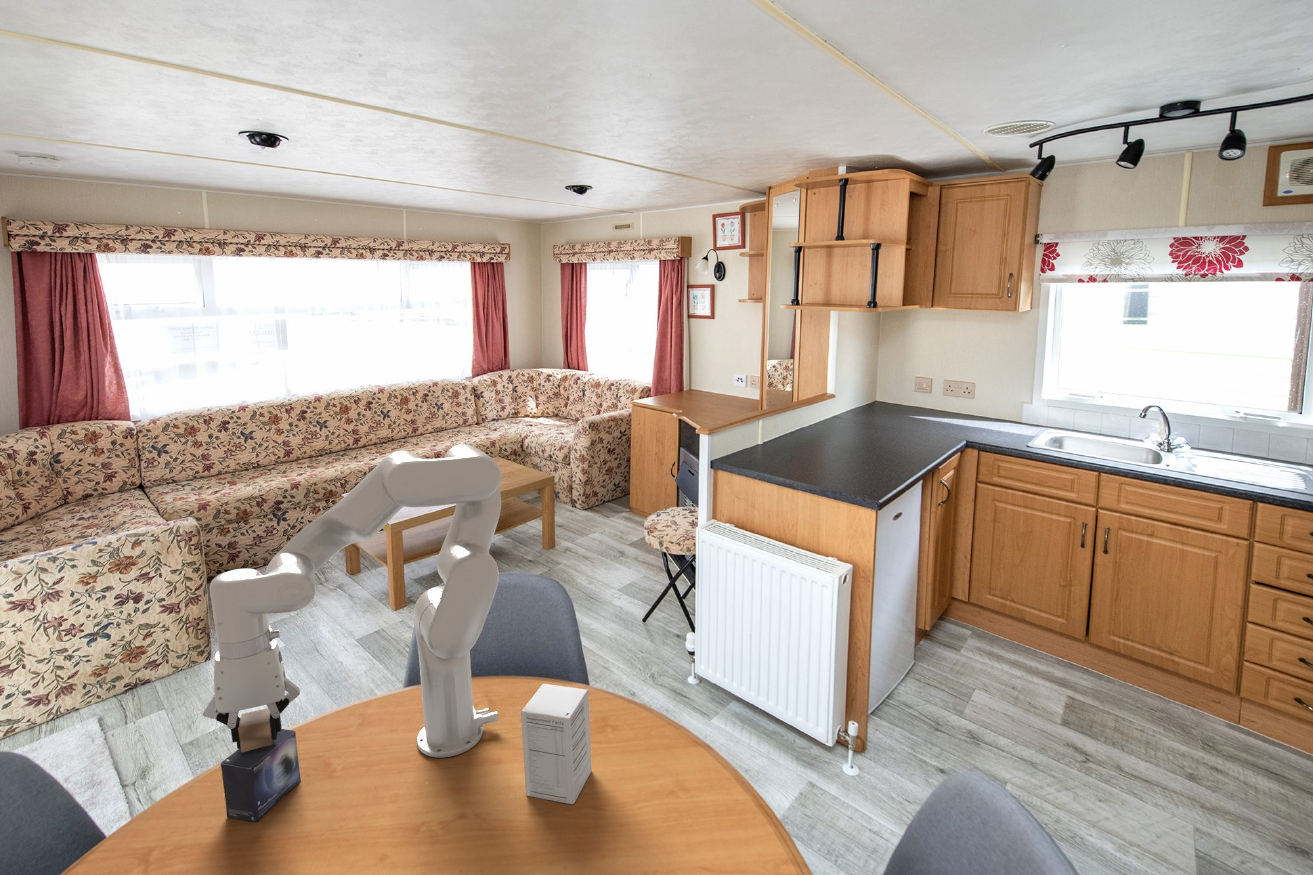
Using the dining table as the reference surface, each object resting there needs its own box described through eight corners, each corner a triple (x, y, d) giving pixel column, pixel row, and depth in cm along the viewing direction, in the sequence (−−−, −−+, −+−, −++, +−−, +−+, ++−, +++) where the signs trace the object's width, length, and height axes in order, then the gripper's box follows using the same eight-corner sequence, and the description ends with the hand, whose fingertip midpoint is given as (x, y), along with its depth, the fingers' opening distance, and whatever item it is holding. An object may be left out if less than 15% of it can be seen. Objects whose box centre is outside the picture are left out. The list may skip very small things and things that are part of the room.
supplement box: (593, 770, 121) (590, 688, 118) (574, 806, 113) (571, 718, 110) (545, 761, 124) (542, 681, 121) (524, 795, 115) (519, 710, 112)
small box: (258, 824, 109) (250, 768, 107) (225, 818, 110) (217, 763, 108) (303, 780, 119) (297, 729, 117) (273, 775, 121) (266, 725, 119)
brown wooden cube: (274, 730, 116) (271, 707, 115) (272, 744, 112) (268, 721, 111) (245, 737, 114) (241, 714, 113) (241, 752, 110) (238, 728, 109)
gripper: (302, 623, 116) (313, 714, 120) (189, 643, 109) (204, 741, 112) (300, 641, 110) (312, 738, 113) (179, 665, 102) (195, 767, 106)
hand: (258, 738), depth 113 cm, fingers closed on brown wooden cube, 4 cm apart
